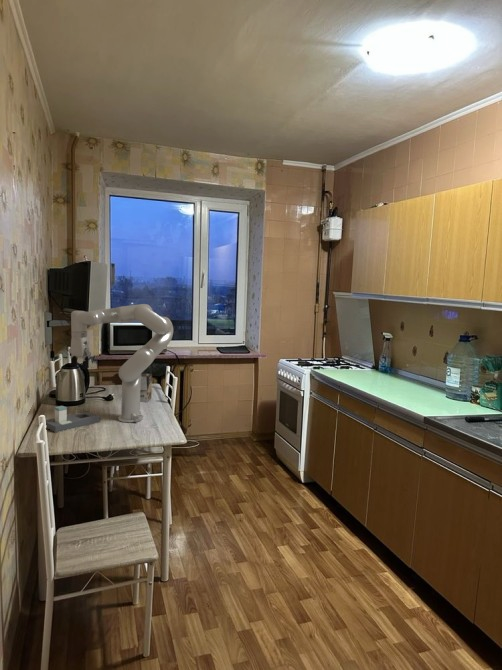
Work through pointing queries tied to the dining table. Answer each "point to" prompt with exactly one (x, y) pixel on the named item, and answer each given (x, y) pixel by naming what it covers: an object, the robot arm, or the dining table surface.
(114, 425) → the dining table surface
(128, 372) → the robot arm
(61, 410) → the white plug block
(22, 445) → the dining table surface
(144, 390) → the coffee box
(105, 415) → the dining table surface
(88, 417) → the charcoal socket panel
